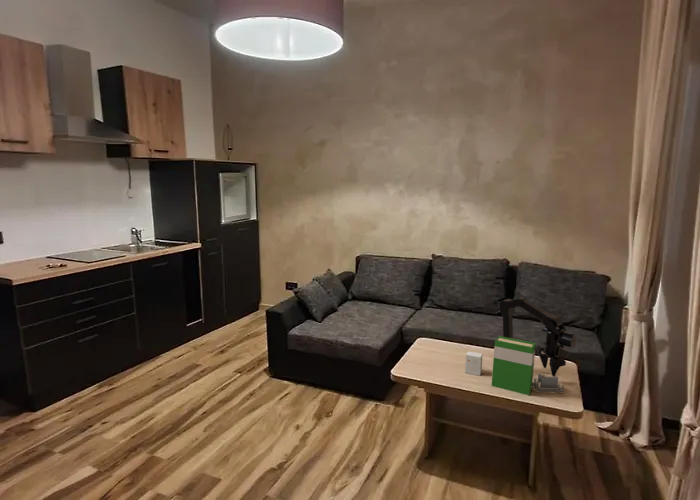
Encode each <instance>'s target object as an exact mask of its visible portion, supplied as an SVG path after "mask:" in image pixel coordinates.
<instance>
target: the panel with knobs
mask: <svg viewBox="0 0 700 500" xmlns="http://www.w3.org/2000/svg"><path fill="white" fill-rule="evenodd" d="M537 382H538V377H534V378H533V381H532V388H533V389H535V391H536V392H537V393H544V392H566V391H565V389H563V387H562V386H563V385H562V384H563V383H562V382H560V381H558V388H541V387H540V385H541V383H540V382H538V384H537Z"/></svg>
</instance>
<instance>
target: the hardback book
mask: <svg viewBox="0 0 700 500" xmlns="http://www.w3.org/2000/svg"><path fill="white" fill-rule="evenodd" d="M536 344H537V343H536V342H531V341H527V340H521V339H516V338H513V339H512V338H507V337H503V336H502V335H501V336H500V335H498V336H497V339H495V340H494V348H493V361H492V372H491V374H492V376H491V387H494V388H498V389H502V390H506V391H510V392H514V393H517V394H521V395H526V396H530V394H531V392H532V390H533V389H532V388H533V386H532V382H533V381H534V378H533V377H534V369H535V368H534V367H535V358H536V357H535V355H536V347H537V346H536Z"/></svg>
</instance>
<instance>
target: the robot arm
mask: <svg viewBox="0 0 700 500" xmlns="http://www.w3.org/2000/svg"><path fill="white" fill-rule="evenodd" d="M517 307H519V308H522V309H524V310H525V311H527V312H528V313H529V314H531V315H533V317H535V318H537V319H539V321H540V322H541V323H542V325H543V326H545V327H544V328H543V329H541V331H542V332H544V333H545V341H543V345H538V346H536V352H537V355H538V357H539V359H540V362H541V364H542V366H543V368H544V369H546V368H547V366H548V363H549V368H550V372H551V373H550V374H552V376H555V375H556V374H557V372H558V370H559V369H560V368H561V367H565V366H567V365H566V364H567V361H566V360H565V359H564V358H562V357H565V358H568V357H569V355H570V353H571V351H570V350H569V349H570V348H571V349H574V348H575V346H576V344H577V337H576V336H575V335H576V334H575V333H574V332H569V331H567V329H566V328H565V326H564V323H563V321H562V318H561V316H558V315H556V314H554V313H550V312H547V311H545V310H543V309H542V308H540V307H538V306H537V305H535V304H534V303H532V302H531V301H529V300H528V299H527V298H525V297H518V298H517V299H516V298H515V299H511V298H507V299H504V300H501V301H500V302H499V304H498V308H499V313H500V315H502V337H507V338H512V339H514V336H513V335H514V333H513V332H514V331H513V330H514V329H513V328H514V327H513V324H514V323H513V316H514V314H515V313H516V312H515V311H516V308H517ZM567 347H568V348H569V349H567ZM561 356H562V357H561ZM548 361H549V362H548ZM556 376H557V375H556Z"/></svg>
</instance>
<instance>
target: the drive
mask: <svg viewBox="0 0 700 500" xmlns="http://www.w3.org/2000/svg"><path fill="white" fill-rule="evenodd" d="M537 374H538V375H537V384H538V382H540V383H541V385H540V387H541V388H558V385H559V377H558V376H557V375H555V376H552V373H537Z"/></svg>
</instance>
